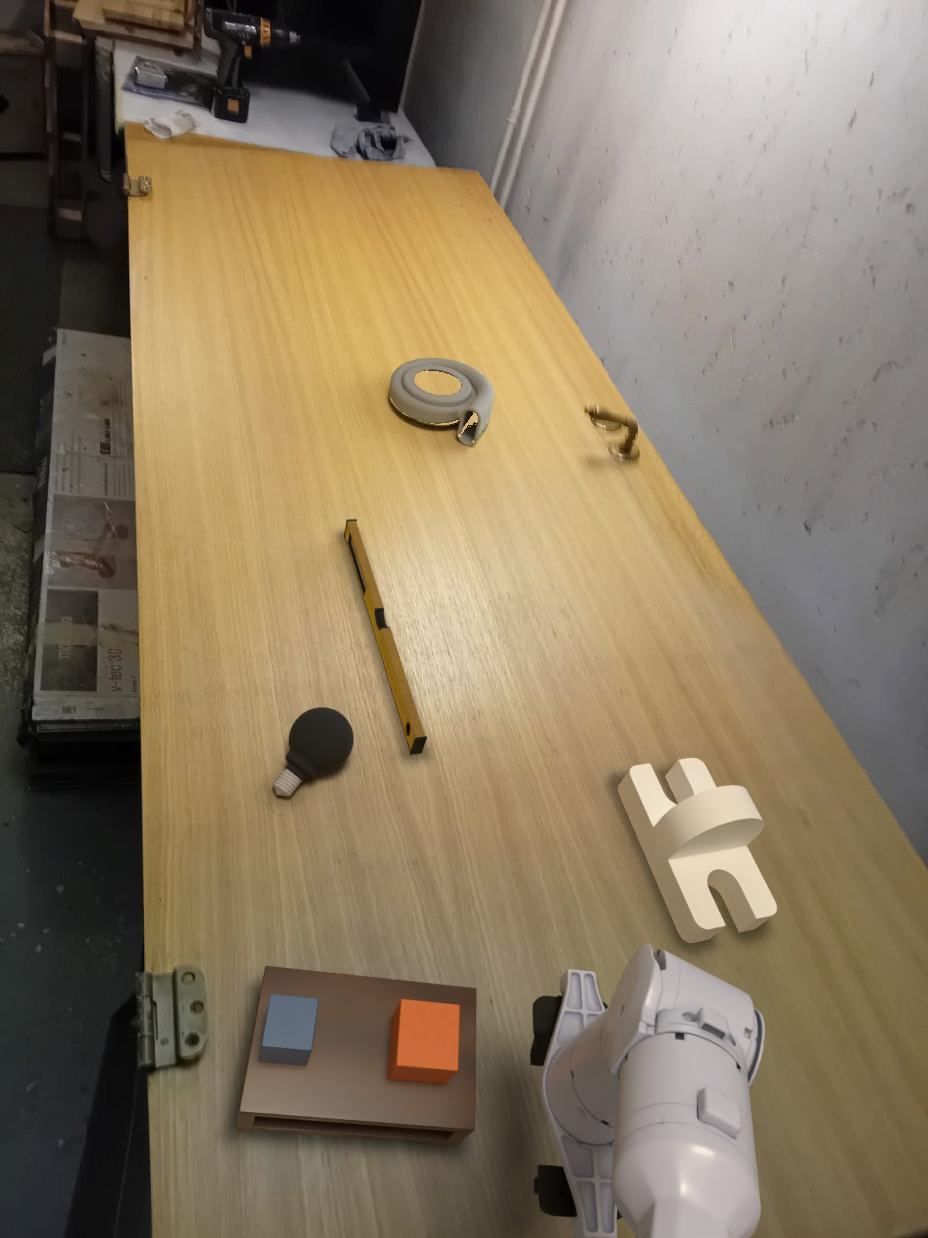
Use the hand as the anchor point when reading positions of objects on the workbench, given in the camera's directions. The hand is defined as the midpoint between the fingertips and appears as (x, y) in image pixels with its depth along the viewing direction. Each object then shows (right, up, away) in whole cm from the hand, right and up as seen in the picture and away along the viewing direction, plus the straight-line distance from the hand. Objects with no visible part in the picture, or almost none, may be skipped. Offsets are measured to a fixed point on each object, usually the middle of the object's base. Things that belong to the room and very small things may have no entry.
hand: (545, 1122), depth 57 cm
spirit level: (-16, +33, +40) cm, 54 cm away
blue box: (-19, +4, +4) cm, 20 cm away
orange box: (-9, +2, +5) cm, 11 cm away
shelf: (-14, -1, +9) cm, 17 cm away
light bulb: (-21, +20, +26) cm, 39 cm away
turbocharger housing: (-10, +69, +74) cm, 101 cm away
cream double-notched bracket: (+18, +10, +30) cm, 36 cm away
